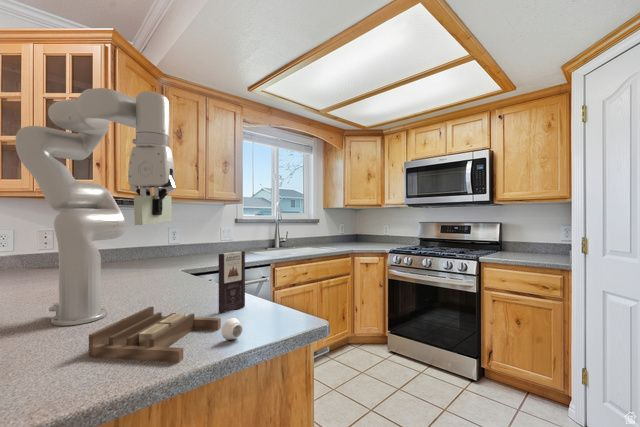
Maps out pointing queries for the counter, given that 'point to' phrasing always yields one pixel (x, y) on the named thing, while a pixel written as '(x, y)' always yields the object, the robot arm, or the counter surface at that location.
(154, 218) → the sage green slab
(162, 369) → the counter surface
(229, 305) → the chocolate bar
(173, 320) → the offcut
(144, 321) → the rack
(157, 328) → the offcut
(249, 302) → the counter surface
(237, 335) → the white jar
